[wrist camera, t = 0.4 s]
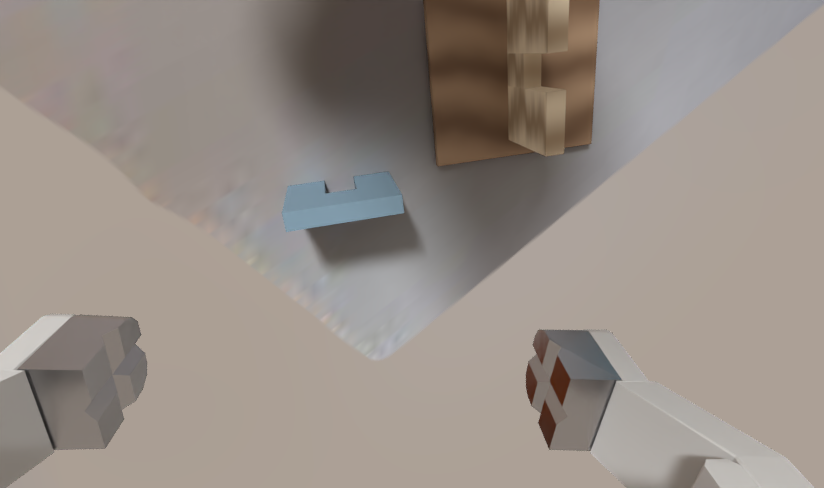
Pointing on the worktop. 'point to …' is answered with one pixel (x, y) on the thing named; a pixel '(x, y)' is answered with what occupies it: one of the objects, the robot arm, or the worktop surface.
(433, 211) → the worktop surface
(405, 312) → the worktop surface
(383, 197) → the slotted plate
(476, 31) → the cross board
